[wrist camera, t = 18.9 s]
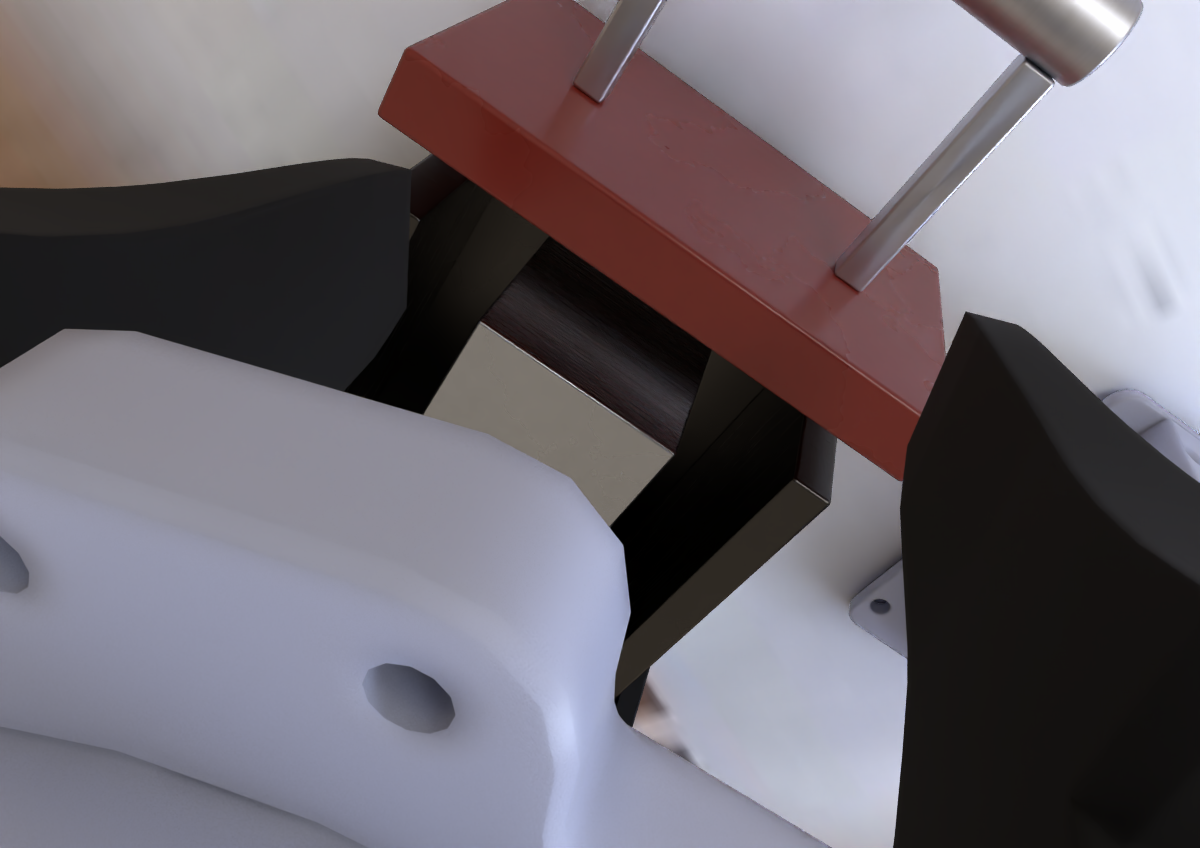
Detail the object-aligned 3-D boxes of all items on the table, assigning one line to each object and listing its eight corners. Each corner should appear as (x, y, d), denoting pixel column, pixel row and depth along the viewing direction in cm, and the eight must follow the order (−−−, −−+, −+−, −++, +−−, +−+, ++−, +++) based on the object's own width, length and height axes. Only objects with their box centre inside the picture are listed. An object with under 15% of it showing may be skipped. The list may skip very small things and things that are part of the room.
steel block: (552, 231, 20) (478, 320, 17) (714, 345, 21) (676, 455, 17) (467, 366, 23) (388, 468, 19) (613, 465, 23) (562, 582, 20)
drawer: (711, -341, 15) (609, -427, 10) (1175, 28, 16) (1311, 132, 11) (325, 409, 26) (178, 561, 21) (614, 600, 27) (545, 791, 22)
